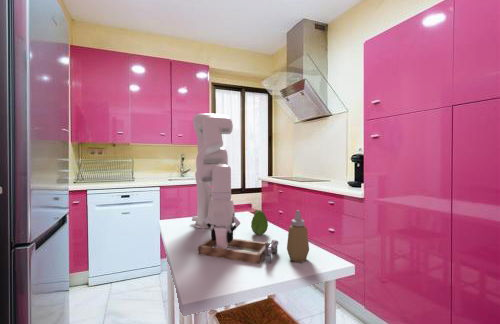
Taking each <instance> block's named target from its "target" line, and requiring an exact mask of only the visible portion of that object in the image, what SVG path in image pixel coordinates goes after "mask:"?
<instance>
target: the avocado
mask: <svg viewBox="0 0 500 324" xmlns="http://www.w3.org/2000/svg"><path fill="white" fill-rule="evenodd" d="M268 226H269V222H268V219H267V217H266V214H265V213H264V211H263V210H260V209H259V210H256V211H255V212H254V215H253V217H252V220H251V225H250V228H251V230H252V232H253V234H255V235H256V236H262V235H264V234H265V233H266V232H267V230H268Z"/></svg>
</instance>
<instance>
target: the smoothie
mask: <svg viewBox="0 0 500 324" xmlns="http://www.w3.org/2000/svg"><path fill="white" fill-rule="evenodd" d="M214 230H215V235H216V243H217V245H216V248H223V249H228V246H227V243H228V242H227V233H228V232H229V231H228V229H227V226H217V225H216V226H215V227H214Z"/></svg>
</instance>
